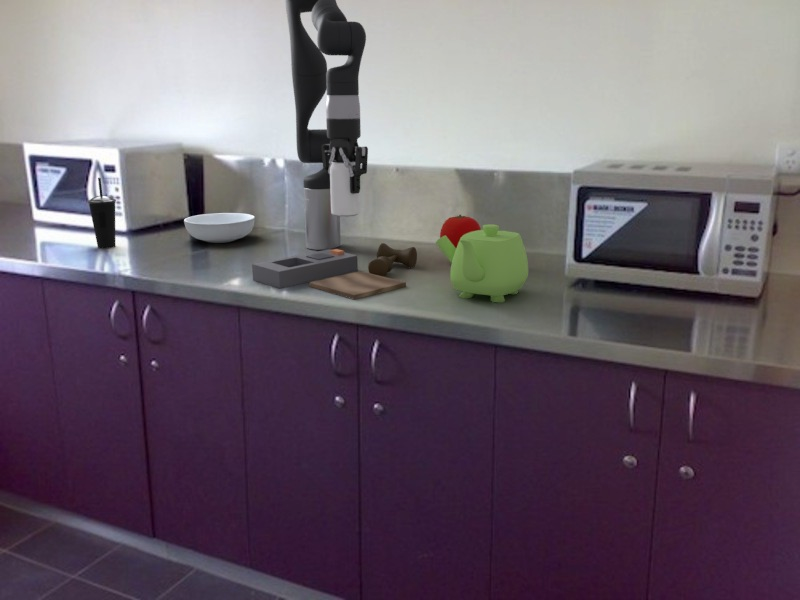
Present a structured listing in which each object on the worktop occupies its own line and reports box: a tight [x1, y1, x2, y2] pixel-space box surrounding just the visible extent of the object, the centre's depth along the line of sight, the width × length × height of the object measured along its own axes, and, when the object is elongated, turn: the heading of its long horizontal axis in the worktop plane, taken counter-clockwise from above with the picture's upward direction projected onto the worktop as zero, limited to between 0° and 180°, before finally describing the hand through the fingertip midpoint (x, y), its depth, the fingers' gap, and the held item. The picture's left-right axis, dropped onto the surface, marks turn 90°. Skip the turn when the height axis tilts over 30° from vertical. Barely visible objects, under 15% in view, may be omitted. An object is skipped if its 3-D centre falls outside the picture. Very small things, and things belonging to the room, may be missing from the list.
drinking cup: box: [87, 177, 117, 249], centre depth 227 cm, size 8×8×20 cm
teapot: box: [435, 223, 529, 303], centre depth 175 cm, size 25×22×16 cm
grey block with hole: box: [251, 248, 359, 289], centre depth 194 cm, size 24×11×5 cm, turn 134°
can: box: [330, 161, 360, 217], centre depth 178 cm, size 6×6×12 cm
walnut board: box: [308, 270, 407, 300], centre depth 184 cm, size 16×16×1 cm
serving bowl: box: [183, 212, 256, 244], centre depth 237 cm, size 21×21×7 cm
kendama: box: [367, 242, 418, 277], centre depth 200 cm, size 6×10×20 cm
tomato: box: [439, 214, 482, 248], centre depth 205 cm, size 11×11×13 cm
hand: (345, 191), depth 179 cm, fingers closed on can, 6 cm apart
